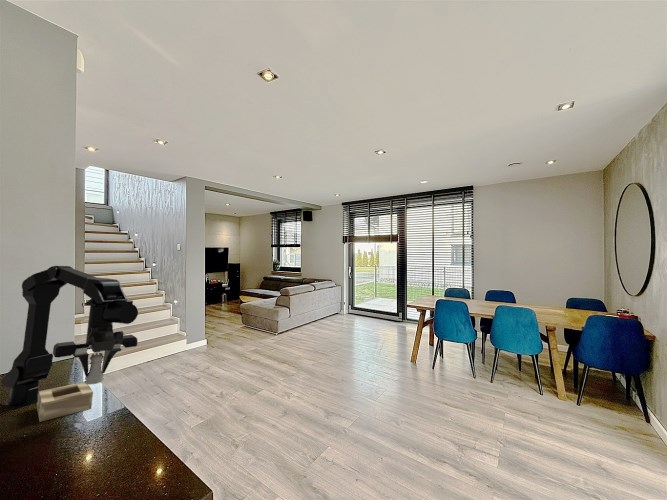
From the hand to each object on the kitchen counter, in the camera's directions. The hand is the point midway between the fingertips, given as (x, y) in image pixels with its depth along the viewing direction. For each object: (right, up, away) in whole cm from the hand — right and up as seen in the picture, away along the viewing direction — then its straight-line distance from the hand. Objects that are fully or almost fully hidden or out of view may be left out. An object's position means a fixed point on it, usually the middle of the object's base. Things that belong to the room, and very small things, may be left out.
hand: (94, 374), depth 83 cm
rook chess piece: (0, -2, 0) cm, 2 cm away
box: (-12, -12, +3) cm, 16 cm away
